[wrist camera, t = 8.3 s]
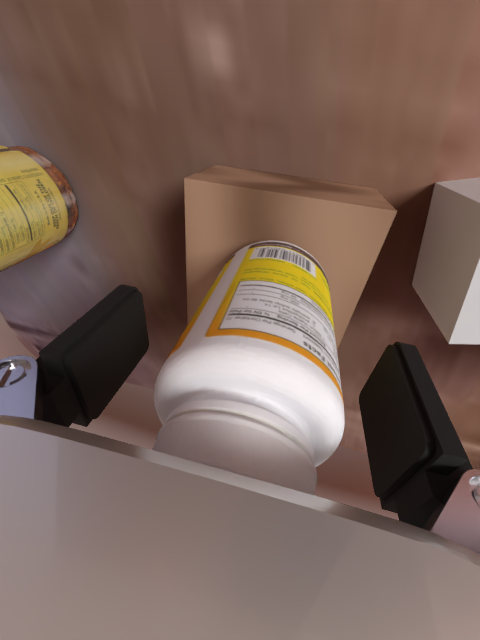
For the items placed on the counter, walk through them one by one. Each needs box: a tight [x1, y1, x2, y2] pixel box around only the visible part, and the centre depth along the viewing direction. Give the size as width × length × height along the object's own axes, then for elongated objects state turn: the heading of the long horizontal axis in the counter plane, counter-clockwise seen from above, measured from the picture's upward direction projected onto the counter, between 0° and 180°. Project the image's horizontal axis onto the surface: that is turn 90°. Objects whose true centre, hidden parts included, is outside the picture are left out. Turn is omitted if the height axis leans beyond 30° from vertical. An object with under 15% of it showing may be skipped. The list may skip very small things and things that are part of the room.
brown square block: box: [184, 165, 397, 349], centre depth 16 cm, size 9×9×5 cm
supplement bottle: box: [152, 240, 345, 496], centre depth 10 cm, size 6×6×10 cm
